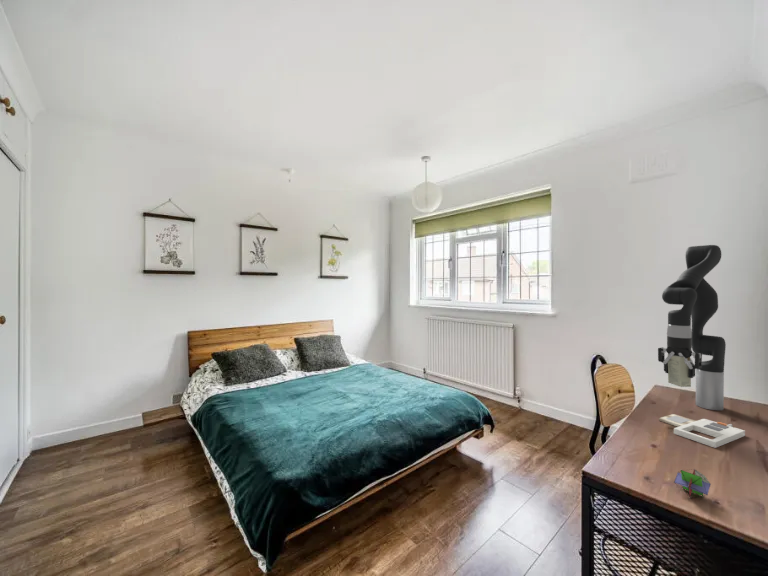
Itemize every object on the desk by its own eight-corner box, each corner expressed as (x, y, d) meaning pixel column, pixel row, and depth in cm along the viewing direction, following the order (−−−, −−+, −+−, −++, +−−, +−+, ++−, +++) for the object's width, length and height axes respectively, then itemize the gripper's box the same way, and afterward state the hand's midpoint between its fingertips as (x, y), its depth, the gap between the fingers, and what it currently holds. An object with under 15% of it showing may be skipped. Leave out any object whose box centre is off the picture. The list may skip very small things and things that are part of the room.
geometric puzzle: (704, 501, 83) (709, 470, 86) (670, 487, 89) (675, 458, 91) (709, 508, 87) (713, 478, 89) (675, 495, 92) (680, 467, 95)
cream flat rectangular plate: (673, 416, 141) (673, 413, 141) (697, 423, 134) (697, 420, 134) (658, 420, 136) (658, 418, 136) (682, 428, 129) (682, 425, 129)
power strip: (711, 420, 136) (711, 414, 136) (752, 432, 125) (752, 425, 125) (673, 433, 125) (673, 426, 125) (715, 447, 114) (715, 440, 114)
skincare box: (691, 387, 131) (691, 357, 131) (680, 387, 132) (680, 357, 131) (677, 382, 138) (677, 353, 138) (667, 382, 138) (667, 353, 138)
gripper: (706, 337, 129) (706, 378, 130) (663, 332, 142) (663, 369, 143) (696, 339, 126) (696, 381, 127) (653, 334, 139) (653, 372, 140)
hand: (678, 375), depth 135 cm, fingers closed on skincare box, 7 cm apart
